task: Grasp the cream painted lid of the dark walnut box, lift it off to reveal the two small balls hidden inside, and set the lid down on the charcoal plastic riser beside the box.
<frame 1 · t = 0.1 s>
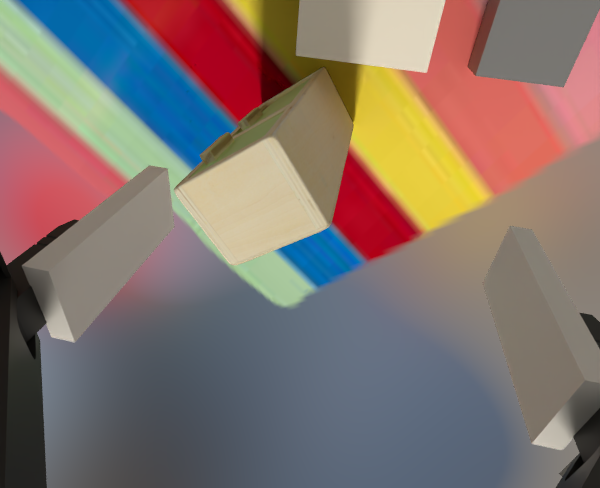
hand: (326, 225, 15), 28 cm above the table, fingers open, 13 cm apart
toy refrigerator: (306, 109, 41), on the table
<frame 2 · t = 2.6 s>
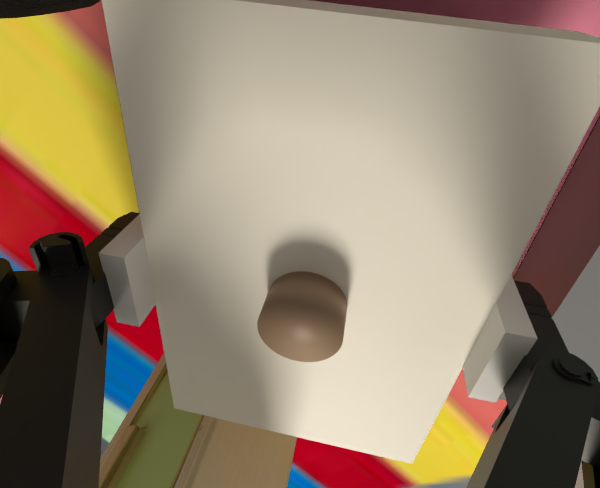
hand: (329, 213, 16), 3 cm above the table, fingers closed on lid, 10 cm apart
lid: (318, 256, 14), point 6 cm above the table, touching box, gripper
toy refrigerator: (238, 350, 27), on the table
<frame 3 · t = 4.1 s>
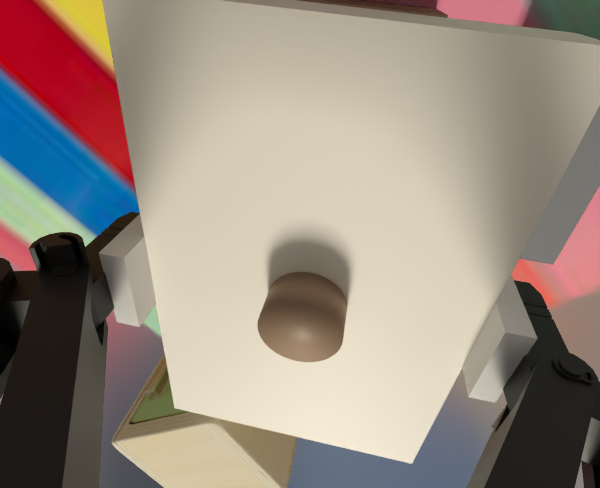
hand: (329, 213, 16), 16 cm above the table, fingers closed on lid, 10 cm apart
box: (355, 110, 29), on the table
riser: (528, 149, 29), on the table
lid: (318, 256, 14), point 19 cm above the table, touching gripper
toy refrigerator: (280, 246, 38), on the table
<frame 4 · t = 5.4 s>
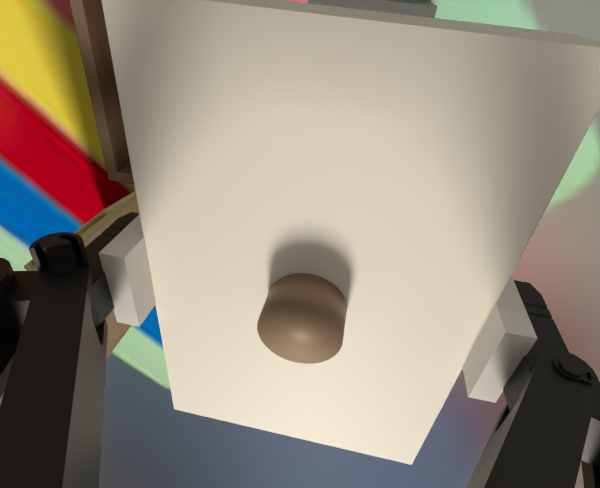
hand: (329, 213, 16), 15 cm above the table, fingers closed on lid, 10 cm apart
box: (186, 70, 29), on the table
riser: (355, 108, 28), on the table
lid: (318, 257, 14), point 18 cm above the table, touching gripper
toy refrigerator: (150, 216, 38), on the table
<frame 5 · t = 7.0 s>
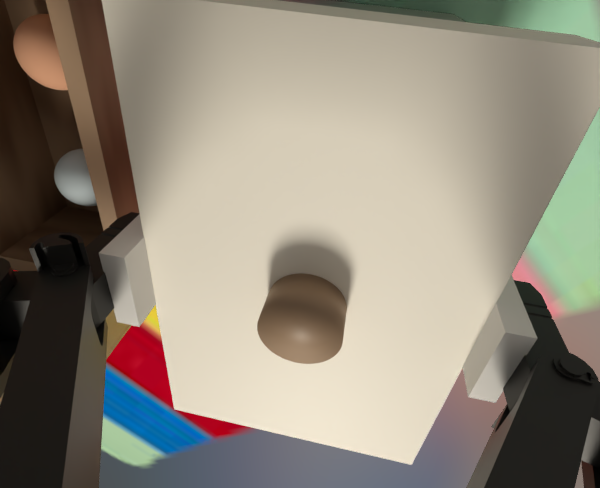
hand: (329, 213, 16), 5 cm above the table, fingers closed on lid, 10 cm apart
box: (101, 108, 21), on the table
ball terracotta: (77, 48, 18), point 1 cm above the table, touching box
riser: (340, 163, 20), on the table
lid: (318, 258, 14), point 8 cm above the table, touching gripper
ball bluegrey: (104, 166, 22), point 1 cm above the table, touching box
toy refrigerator: (81, 284, 29), on the table
when the fingers open (2 cm above the table, at t = 8.1 s): lid drops 1 cm, resting on riser.
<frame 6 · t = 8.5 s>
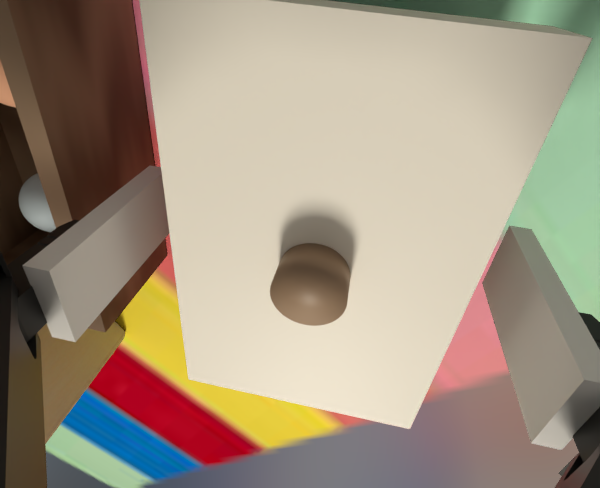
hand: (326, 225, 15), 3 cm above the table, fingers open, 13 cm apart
box: (73, 125, 19), on the table
ball terracotta: (42, 60, 16), point 1 cm above the table, touching box
lid: (324, 234, 15), point 4 cm above the table, touching riser
ball bluegrey: (77, 187, 20), point 1 cm above the table, touching box
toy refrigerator: (59, 308, 28), on the table
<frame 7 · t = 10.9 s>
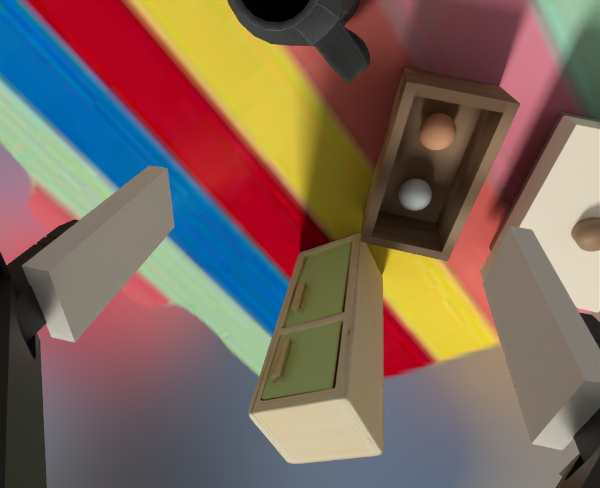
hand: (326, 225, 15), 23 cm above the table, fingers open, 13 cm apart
box: (423, 155, 36), on the table
ball terracotta: (435, 126, 34), point 1 cm above the table, touching box
riser: (559, 194, 36), on the table
lid: (576, 215, 33), point 4 cm above the table, touching riser
ball bluegrey: (413, 187, 37), point 1 cm above the table, touching box
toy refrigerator: (340, 260, 45), on the table
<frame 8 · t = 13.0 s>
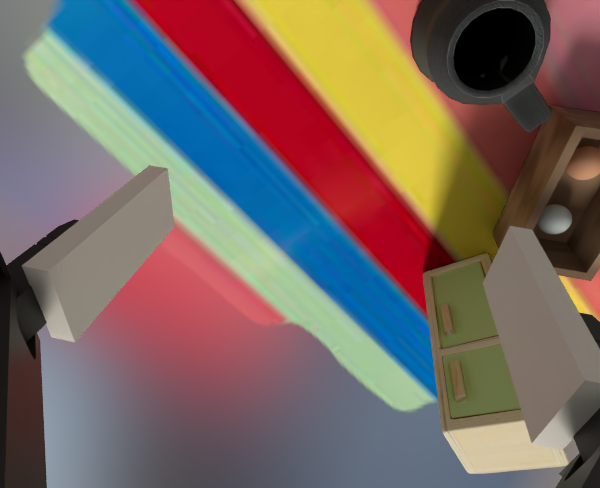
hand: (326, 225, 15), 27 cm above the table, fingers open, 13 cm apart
box: (559, 182, 39), on the table
ball terracotta: (578, 157, 36), point 1 cm above the table, touching box
ball bluegrey: (548, 212, 40), point 1 cm above the table, touching box
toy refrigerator: (462, 278, 48), on the table
mug: (474, 44, 34), on the table
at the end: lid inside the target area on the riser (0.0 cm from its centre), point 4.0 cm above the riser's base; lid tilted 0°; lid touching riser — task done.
